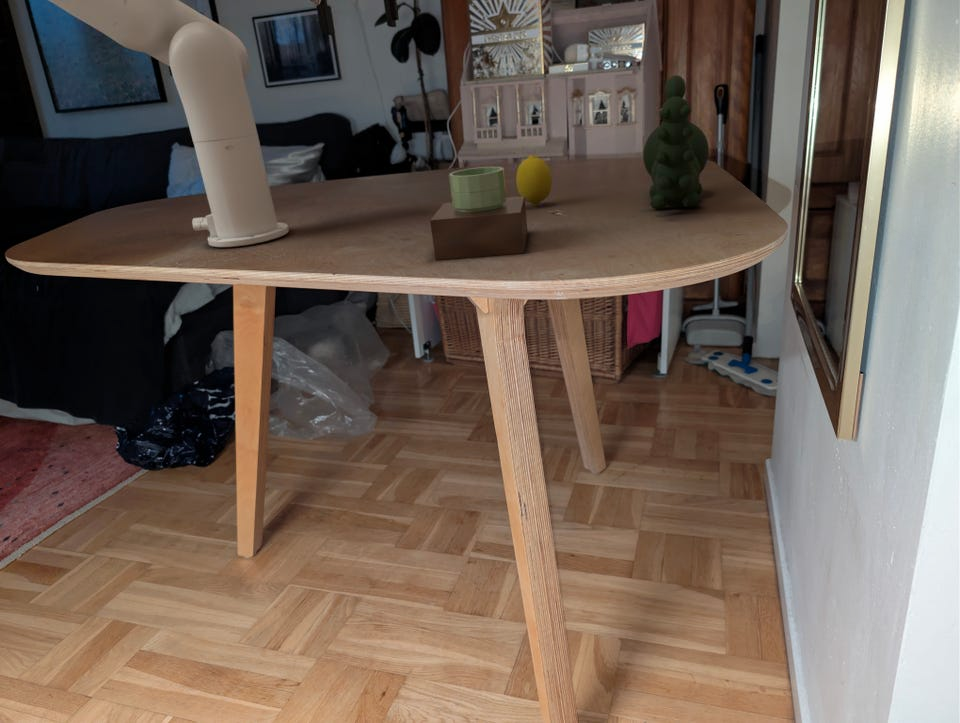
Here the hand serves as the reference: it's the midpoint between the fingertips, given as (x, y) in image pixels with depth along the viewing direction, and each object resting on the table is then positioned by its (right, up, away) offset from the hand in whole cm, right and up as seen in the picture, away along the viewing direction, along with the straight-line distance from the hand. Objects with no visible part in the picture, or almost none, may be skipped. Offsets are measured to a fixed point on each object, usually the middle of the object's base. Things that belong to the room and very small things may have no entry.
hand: (360, 30), depth 105 cm
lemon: (+27, -25, +8) cm, 37 cm away
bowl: (+18, -30, -15) cm, 38 cm away
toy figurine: (+47, -26, -2) cm, 53 cm away
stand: (+18, -34, -14) cm, 41 cm away
